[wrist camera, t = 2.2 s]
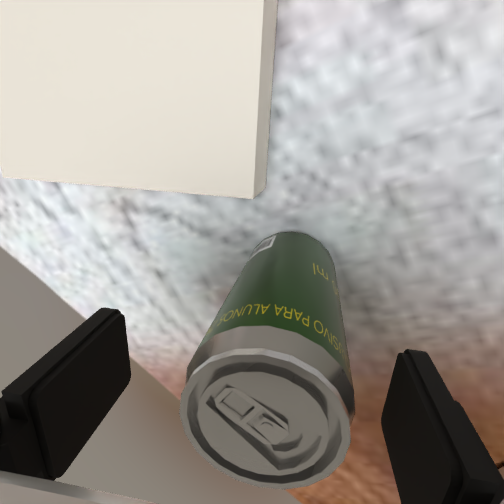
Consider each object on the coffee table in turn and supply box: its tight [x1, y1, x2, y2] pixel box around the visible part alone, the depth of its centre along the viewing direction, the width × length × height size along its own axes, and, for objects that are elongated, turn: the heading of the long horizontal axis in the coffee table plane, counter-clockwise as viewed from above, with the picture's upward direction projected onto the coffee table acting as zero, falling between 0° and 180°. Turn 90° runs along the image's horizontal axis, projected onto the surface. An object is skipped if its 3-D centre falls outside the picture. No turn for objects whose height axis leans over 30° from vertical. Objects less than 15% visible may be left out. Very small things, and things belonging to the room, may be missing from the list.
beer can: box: [179, 232, 355, 489], centre depth 14 cm, size 5×5×12 cm
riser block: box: [0, 0, 278, 199], centre depth 16 cm, size 14×14×4 cm
